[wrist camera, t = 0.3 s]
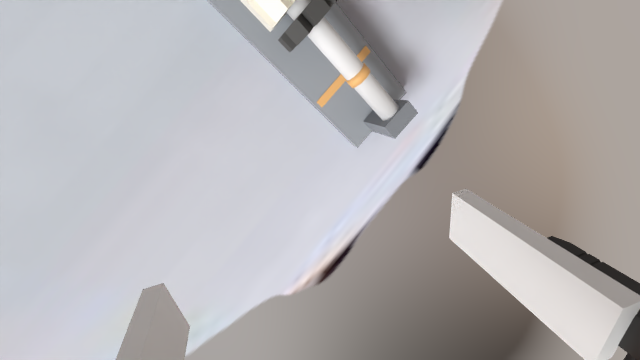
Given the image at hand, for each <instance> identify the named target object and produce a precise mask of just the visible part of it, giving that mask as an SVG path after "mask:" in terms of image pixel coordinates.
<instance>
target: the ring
mask: <svg viewBox="0 0 640 360" xmlns="http://www.w3.org/2000/svg"><path fill="white" fill-rule="evenodd" d="M336 1H337V0H311V2H310V3H309V4H308V5H307V6H306V8H305V9H304V10H303V11H302V12H301V14H300V15H299V16H298V17H297V18H296V19H295V21H293V23H292V24H291V25H290V26H289V27H288V29H287V30H286V31H285V32H284V33H283V34H282V36H281V37H280V38H279V39H278V41H279V42H280V43H281V44H282V45H283V46H284V47H285V48H286V49H287V50H288V51H289V52H291V51H292V50H293V49H294V48H295V47H296V46H298V45H299V44H300V43H301V41H302V40H303V39H304V38H305V37H306V36H307V35H308V34H309V33H310V32H311V30H312V29H313V27H314V26H316V25H317V24H318V23H319V22H320V21H321V19H322V18H323V17H324V16H325V15H326V14H327V12H328V11H329V10H330V9H331V7H332V6H333V5H334V3H335V2H336Z"/></svg>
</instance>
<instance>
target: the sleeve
mask: <svg viewBox="0 0 640 360" xmlns="http://www.w3.org/2000/svg"><path fill="white" fill-rule="evenodd" d="M240 1H241V2H242V3H243V4H244V5H245V6H246V7H247V8H248V9H249V10H250V12H251V13H252V14H253V15H254V16H255V17H256V18H257V19H258V20H259V21H260V22H261V23H262V24H263V25H264V26H265V27H266V28H267V29H268V30H269V31H270V32H271V31H272V30H273V29H274V28H275V27H276V26H277V24H278V23H279V22H280V21H281V20H282V18H284V16H285V15H286V14H287V13H286V12H287V11H288V10H289V8H290V7H291V6H292V5H293V3H294V2H295V1H296V0H240Z"/></svg>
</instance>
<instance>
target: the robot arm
mask: <svg viewBox="0 0 640 360" xmlns="http://www.w3.org/2000/svg"><path fill="white" fill-rule="evenodd" d="M449 238H450V239H451V240H452V241H453V242H454V243H455V244H457V246H459V247H460V248H461V249H462V250H463V251H464V252H465V253H467V254H468V255H469V256H470V257H471V258H472V259H473V260H474V261H475V262H476V263H478V264H479V265H480V266H481V267H482V268H483V269H484V270H485V271H487V272H488V273H489V274H490V275H491V276H492V277H493V278H494V279H496V281H498V282H499V283H500V284H501V285H502V286H503V287H504V288H506V289H507V290H508V291H509V292H510V293H511V294H512V295H513V296H514V297H516V298H517V299H518V300H519V301H520V302H521V303H522V304H523V305H524V306H525V307H527V308H528V309H529V310H530V311H531V312H532V313H533V314H534V315H535V316H537V317H538V318H539V319H540V320H541V321H542V322H543V323H544V324H546V325H547V326H548V327H549V328H550V329H551V330H552V331H553V332H554V333H556V334H557V335H558V336H559V337H560V338H561V339H562V340H563V341H564V342H566V343H567V344H568V345H569V346H570V347H571V348H572V349H573V350H574V351H576V352H577V353H578V354H579V355H580V356H581V357H582V358H584V359H585V360H607V359H609V358H612V356H613V354H614V353H615V351H616V349H617V347H618V346H620V347H621V348H622V349H624V350H625V351H626V352H627V355H626V357H625V358H624V360H640V283H638V282H636V281H635V280H633V279H631V278H629V277H628V276H626V275H624V274H623V273H621V272H619V271H617V270H616V269H614V268H612V267H611V266H609V265H607V264H606V263H604V262H600V260H599V259H597V258H595V257H594V256H592V255H590V254H587V253H586V252H585V251H583V250H582V249H580V248H578V247H577V246H575V245H573V244H571V243H569V242H567V241H564V240H561V239H559V238H556V237H553V236H551V237H548V238H546V237H544V236H542V235H541V234H539V233H538V232H536V231H534V230H532V229H531V228H529V227H528V226H526V225H525V224H523V223H521V222H519V221H518V220H516V219H515V218H513V217H512V216H510V215H508V214H507V213H505V212H503V211H502V210H500V209H499V208H497V207H495V206H494V205H492V204H490V203H489V202H487V201H486V200H484V199H482V198H481V197H479V196H477V195H476V194H474V193H473V192H471V191H469V190H468V189H464V190H461V191H458V192H455V193H453V194H452V208H451V222H450V236H449ZM189 329H190V326H189V324H188V322H187V321H186V319H185V318H184V316H183V314H182V313H181V311H180V309H179V308H178V306H177V305H176V303H175V301H174V300H173V298H172V296H171V295H170V293H169V292H168V290H167V288H166V287H165V285H164V283H162V284H159V285H155V286H152V287H149V288H146V289H143V291H142V293H141V296H140V298H139V301H138V303H137V306H136V309H135V311H134V314H133V316H132V319H131V322H130V324H129V327H128V329H127V332H126V334H125V337H124V340H123V342H122V345H121V347H120V350H119V353H118V355H117V358H116V360H184V358H185V352H186V346H187V340H188V334H189Z"/></svg>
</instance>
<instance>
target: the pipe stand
mask: <svg viewBox="0 0 640 360" xmlns="http://www.w3.org/2000/svg"><path fill="white" fill-rule="evenodd" d="M207 1H208V2H209V3H210V4H211V5H212V6H213V7H214V8H215V9H216V10H217V11H218V12H219V13H220V14H221V15H222V16H223V17H224V18H225V19H226V20H227V21H228V22H229V23H230V24H231V25H232V26H233V27H234V28H235V29H236V30H237V31H238V32H239V33H240V34H241V35H242V36H243V37H244V38H245V39H246V40H247V41H248V42H249V43H250V44H251V45H252V46H253V47H254V48H255V49H256V50H257V51H258V52H259V53H260V54H261V55H262V56H263V57H265V58H266V59H267V60H268V61H269V62H270V63H271V64H272V65H273V66H274V67H275V68H276V69H277V70H278V71H279V72H280V73H281V74H282V75H283V76H284V77H285V78H286V79H287V80H288V81H289V82H290V83H291V84H292V85H293V86H294V87H295V88H296V89H297V90H298V91H299V92H300V93H301V94H302V95H303V96H304V97H305V98H306V99H307V100H308V101H309V102H310V103H311V104H312V105H313V106H314V107H315V108H316V109H317V110H318V111H319V112H320V113H321V114H322V115H323V116H324V117H325V118H326V119H327V120H328V121H329V122H330V123H331V124H332V125H333V126H334V127H335V128H336V129H337V130H338V131H339V132H340V133H341V134H342V135H343V136H344V137H345V138H346V139H347V140H348V141H349V142H350V143H351V144H352V145H353V146H355V147H357V148H358V147H359V145H360V144H361V143H362V142H363V141H364V140H365V139H366V138H367V136H368V135H369V134H370V133H371V132H372V131H373V132H376V133H379V134H383V135H386V136H389V137H392V138H396V137H397V136H398V135H399V134H400V132H401V131H402V130H403V129H404V128H405V127H406V126H407V125H408V123H409V122H410V121H411V120H412V119H413V118H414V117H415V116H416V115H417V113H418V112H417V111H416V110H415V108H414V107H413V106H412V105H411V103H410V102H409V101H406V100H400V99H401V98H402V97H403V96H404V95H405V94H406V91H405V90H404V88H403V87H402V86H401V85H400V83H399V82H398V81H397V80H396V78H395V77H394V76H393V75H392V73H391V72H390V71H389V69H388V68H387V67H386V66H385V64H384V63H383V62H382V61H381V59H380V58H379V57H378V56H377V54H376V53H375V52H374V50H373V49H372V48H371V47H370V45H369V44H368V43H367V42H366V40H365V39H364V38H363V37H362V35H361V34H360V33H359V31H358V30H357V29H356V28H355V26H354V25H353V24H352V23H351V21H350V20H349V19H348V18H347V16H346V15H345V14H344V12H343V11H342V10H341V9H340V7H339V6H338V5H337V4H336V2H335V3H334V5H333V6H332V7H331V9H330V10H329V11H328V12H327V14H326V15H325V16H324V17H323V18H322V19H321V21H320V22H319V23H318V24H317V25H316V26H314V27H313V29H312V30H311V32H310V33H309V34H308V35H307V36H306V37H305V38H304V39H303V40H302V41H301V43H300V44H299V45H298V46H296V47H295V48H294V49H293V50H292V51H291V52H289V51H288V50H287V49H286V48H285V47H284V46H283V45H282V44H281V43H280V42H279V41H278V39H279V38H280V37H281V36H282V34H283V33H284V32H285V31H286V30H287V29H288V27H289V26H290V25H291V24H292V23H293V21H295V19H296V18H297V17H298V16H299V15H300V14H301V12H302V11H303V10H304V9H305V8H306V6H307V5H308V4H309V3H310V2H311V0H296V1H295V2H294V3H293V5H292V6H291V7H290V8H289V10H288V11H287V12H286V13H287V14H286V15H285V16H284V18H282V20H281V21H280V22H279V23H278V24H277V26H276V27H275V28H274V29H273V30H272V31H271V32H270V31H269V30H268V29H267V28H266V27H265V26H264V25H263V24H262V23H261V22H260V21H259V20H258V19H257V18H256V17H255V16H254V15H253V14H252V13H251V12H250V10H249V9H248V8H247V7H246V6H245V5H244V4H243V3H242V2H241V1H240V0H207Z"/></svg>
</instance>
